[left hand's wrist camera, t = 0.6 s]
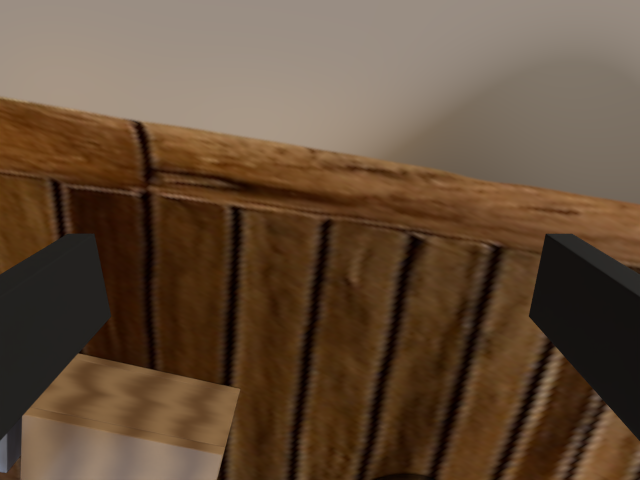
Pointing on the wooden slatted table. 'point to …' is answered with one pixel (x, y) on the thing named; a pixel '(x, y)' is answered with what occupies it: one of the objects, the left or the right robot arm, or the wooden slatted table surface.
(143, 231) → the wooden slatted table surface
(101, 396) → the cabinet
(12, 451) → the drawer
